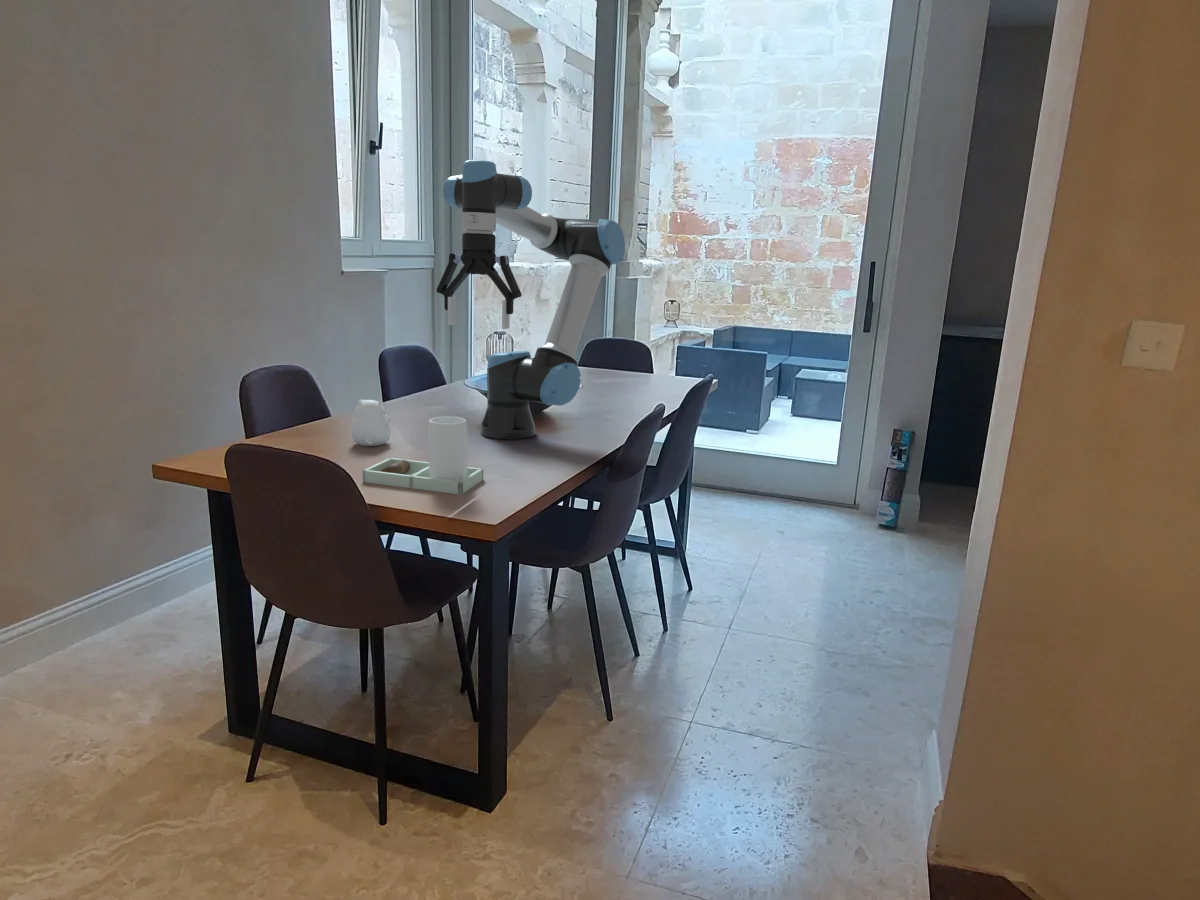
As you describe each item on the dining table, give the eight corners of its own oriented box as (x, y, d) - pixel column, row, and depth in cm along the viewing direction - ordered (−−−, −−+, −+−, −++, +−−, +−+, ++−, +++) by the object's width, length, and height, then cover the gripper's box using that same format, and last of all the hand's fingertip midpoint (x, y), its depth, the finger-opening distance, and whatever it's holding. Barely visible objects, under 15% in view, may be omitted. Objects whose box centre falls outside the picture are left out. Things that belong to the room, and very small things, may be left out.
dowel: (405, 475, 179) (395, 466, 179) (412, 465, 178) (402, 457, 178) (387, 484, 171) (377, 475, 172) (394, 474, 170) (383, 465, 171)
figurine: (389, 450, 199) (387, 403, 196) (348, 450, 197) (347, 403, 194) (392, 440, 208) (391, 396, 205) (354, 440, 207) (352, 395, 204)
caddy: (390, 470, 182) (389, 457, 181) (483, 481, 176) (483, 468, 175) (362, 483, 171) (362, 470, 170) (461, 496, 165) (461, 482, 165)
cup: (442, 475, 177) (442, 414, 174) (475, 481, 174) (475, 419, 171) (420, 485, 170) (419, 421, 166) (453, 491, 167) (453, 426, 163)
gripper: (421, 230, 179) (422, 324, 184) (524, 234, 173) (523, 331, 178) (436, 231, 186) (437, 321, 191) (536, 235, 180) (534, 328, 185)
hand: (478, 326), depth 184 cm, fingers open, 13 cm apart
